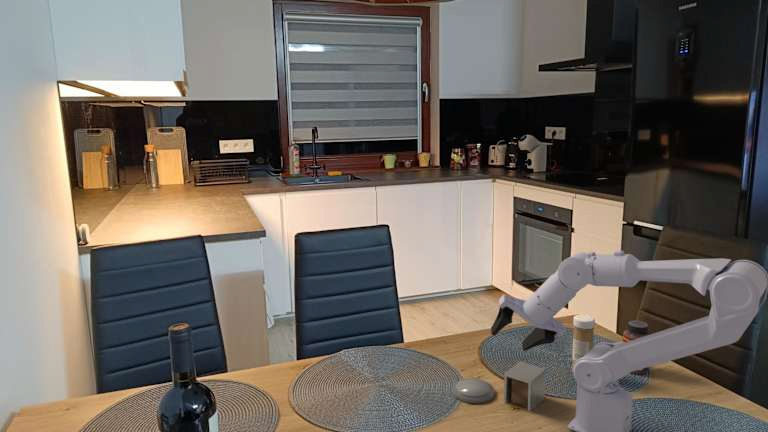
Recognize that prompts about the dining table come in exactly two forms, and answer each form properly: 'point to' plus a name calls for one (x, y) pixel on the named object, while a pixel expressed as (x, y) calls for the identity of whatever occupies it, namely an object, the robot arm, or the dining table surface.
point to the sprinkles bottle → (582, 336)
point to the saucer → (473, 391)
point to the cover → (527, 375)
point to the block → (519, 392)
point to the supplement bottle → (636, 337)
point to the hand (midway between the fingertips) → (508, 339)
